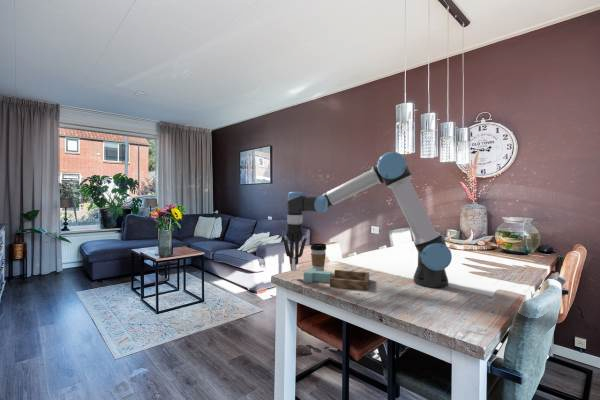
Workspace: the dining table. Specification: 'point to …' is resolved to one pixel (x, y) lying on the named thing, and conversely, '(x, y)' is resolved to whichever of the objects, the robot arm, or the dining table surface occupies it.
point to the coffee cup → (318, 256)
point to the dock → (350, 283)
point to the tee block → (316, 276)
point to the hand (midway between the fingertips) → (294, 270)
